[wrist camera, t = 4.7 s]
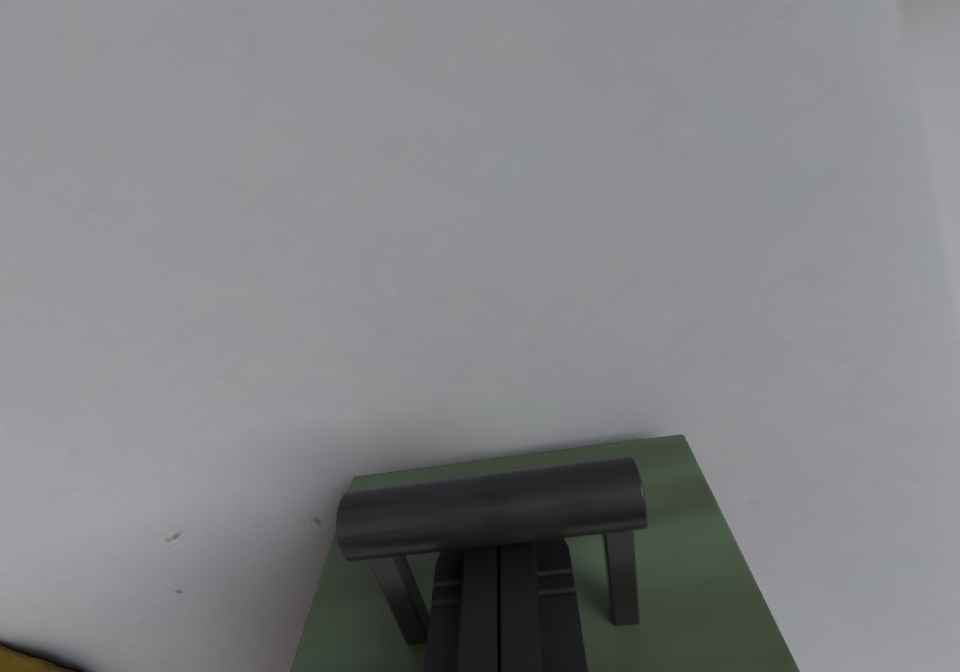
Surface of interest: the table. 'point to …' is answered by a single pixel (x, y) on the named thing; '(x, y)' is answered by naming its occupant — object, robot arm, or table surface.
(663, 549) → the drawer
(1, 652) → the mug
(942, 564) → the table surface
